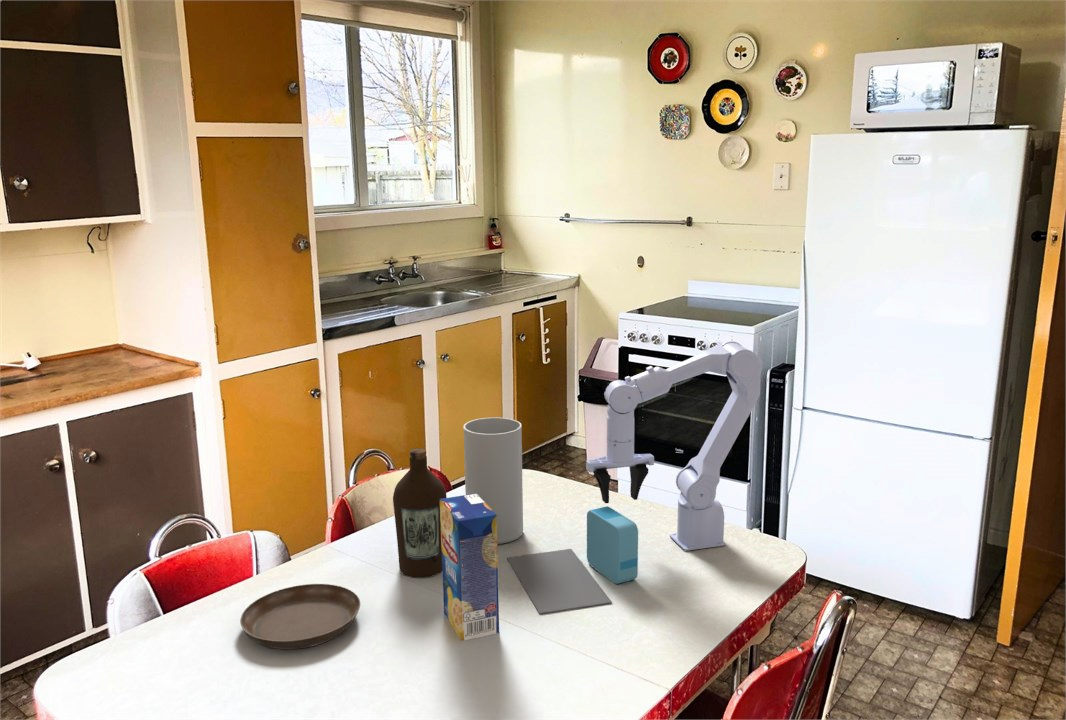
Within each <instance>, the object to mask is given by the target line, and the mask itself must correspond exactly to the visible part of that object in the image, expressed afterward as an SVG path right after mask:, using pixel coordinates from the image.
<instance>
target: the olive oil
mask: <svg viewBox="0 0 1066 720" xmlns="http://www.w3.org/2000/svg"><path fill="white" fill-rule="evenodd" d="M409 455H410V456H409V470H408V471H407V472H406V473H405V474H404V475H403V477H402V478H400V480H399V481H398V482H397V484H396V485H395V487H394V491H393V494H392V495H393V496H392V504H393V512H394V521H395V522H394V523H395V531H396V532H395V534H396V543H397V544H396V545H397V553H398V566H399V571H400V573H401V574H402V575H404V576H406V577H409V578H415V579H425V578H430V577H431V578H432V577H434V576H437V575H439V574H440V573H442V548H441V522H440V499H443V498H448V497H447V492H446V488H445V485H444V483H443V482H442V480H441V479H440V478H439V477H437V475H435V473H433V472H432V471H431V470H430V469H429V468H428V459H427V450H426V449H424V448H413V449H411V450H409Z"/></svg>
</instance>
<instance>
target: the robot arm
mask: <svg viewBox="0 0 1066 720" xmlns="http://www.w3.org/2000/svg"><path fill="white" fill-rule="evenodd" d="M762 371H763V366H762V364H761V362H760V359H759V358H758V355H757V354H756V353H755V352H754V351H752V350H749V349H748V348H746V347H744V346H743V345H742V344H740V343H739V342H738V341H726V342H723V343H722V344H717V345H714V346H712V347H711V348H708V349H707V350H705V351H702V352H701V353H699V354H696V355H693V356H692V357H689V358H687V359H685V360H683V361H681V362H679V363H677V364H674V365H673V366H670V367H668V368H666V369H665V368H663V367H660V366H655V367H653V366H652V365H649V366H647V367H645V371H644V372H643V371H642V372H640V373H638V374H635V375H633V376H629V375H628V376H625V377H624V380H622V379H617V380H613V381H611V382H610V383H609V385H607V386H606V388H605V391H604V393H603V395H604V399H605V401H606V403H608V404H607V410H606V413H607V416H606V455H605V456H601V457H597V458H594V459H589V460H585V470H586V471H587V472H588V473H593V474H594V475H593V476H594V477H595V480H596V481H597V484H598V487H599V490H600V494H601V499H602V501H603V502H604V504H609V503H610V502H609V501H610V482H611V478H612V476H611V475H610V474H609V471H608V470H611V469H612V470H613V469H620V468H627V467H629V475H630V488H629V489H630V491H629V492H630V498H632V500H634V501H636V500H638V499H639V493H640V490H641V488H642V486H643V485H642V484H643V483H644V481H645V479H646V477H647V476H648V475H649V467H648V466H654V465H655V456H654V455H653V454H651V453H635V409H636V408H637V406H638V405H639V404H641V403H644V402H647V401H650V400H652V399H654V398H655V399H656V398H657V397H659V396H662V395H665V394H667V393H668V392H670V389H671V388H672V386H673V385H674V384H676V383H679V382H682V381H686V380H688V379H691V378H694V377H696V376H700V375H702V374H705V373H706V374H707V373H709V372H710V373H713V374H719V375H722V376H726V377H727V379H728V382H729V385H730V388H731V390H732V391H731V394H730V395H729V397H728V399H727V400H726V403H725V404H724V406H723V408H722V410H721V412H720V414H719V415H718V417H717V419H716V421H715V423H714V425H713V426H712V429H710V431H709V434H708V435H707V436H706V439H705V440H704V443H703V445H702V446H701V448H700V450H699V452H698V454H697V455H696V456H694V457H692V458H691V459H690V460H689V461H688V463H687V464H686V466H685V467H683V468H681V470H679V472H678V473H677V474H676V477H675V485H676V487H677V489H678V490H679V492H680V494H679V496H678V499H677V520H676V521H677V527H676V530H677V531H676V533H670V534H669V537H670V538H671V539H672V540H673V541H674V542H675V543H676V544H677V545H678V546H679V547H680V548H681V549H683V551H694V550H701V549H708V548H717V547H722V546H725V545H726V543H725V541H724V538H725V537H724V534H725V512H724V508H723V505H722V504H721V502H720V501H719V500H717V499H716V495H717V487H718V485H719V483H720V480H721V479H720V478H721V476H720V475H721V474H720V473H721V467H722V465H723V463H724V462H725V460H726V458H727V456H728V455H729V452H730V450H731V449H732V447H733V445H734V444H735V442H736V440H737V438H738V436H739V434H740V432H741V431H742V429H743V427H744V425H745V423H746V422H747V420H748V418H749V417H750V415H751V413H752V411H753V408H754V407H755V405H756V403H757V402H758V399H760V396H761V373H762ZM647 465H648V466H647Z"/></svg>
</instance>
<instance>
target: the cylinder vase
mask: <svg viewBox="0 0 1066 720" xmlns="http://www.w3.org/2000/svg"><path fill="white" fill-rule="evenodd" d="M522 427H523V426H522V423H521V422H520V421H518V420H516V419H512V418H507V417H483V418H477V419H472V420H469V421H467V422H465V424H463V452H464V453H463V455H464V457H463V458H464V484H465V486H464V487H465V488H464V489H465V490H464V491H465V495H469V494H475V493H476V494H477V495H478V496H479V497H480V498H481V499H482V500H483V501H484V502H485V503H486V504H487V505H488V506H489V507H490V508H491V509H492V510H493V511H494V513H495V514H496V515H497V545H501V544H502V545H503V544H506V543H511V542H513V541H516V540H517V539H519V538H520V537H522V534H523V532H524V507H523V506H524V503H523V498H524V497H523V495H524V494H523V491H524V490H523V447H522V446H523V440H522V439H523V437H522V436H523V435H522V431H523V428H522Z"/></svg>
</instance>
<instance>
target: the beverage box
mask: <svg viewBox="0 0 1066 720" xmlns="http://www.w3.org/2000/svg"><path fill="white" fill-rule="evenodd" d="M440 522H441V548H442V572H441V573H442V596H443V598H442V599H443V600H442V601H443V613H444V615H445V616H446V618H447V619H448V621H449V623H450V625H451V626H452V628H453V629H454V632H456V634H457V636H458V637H459V639H460V641H461V642H464V641H469V640H473V639H477V638H482V637H486V636H490V635H491V636H492V635H496V634H499V633H500V611H499V608H500V601H499V569H498V568H499V566H498V565H499V564H498V562H499V557H498V544H497V515H496V514H495V513H494V511H493V510H492V509H491V508H490V507H489V506H488V505H487V504H486V503H485V502H484V501H483V500H482V499H481V498H480V497H479V496H478V495H477V494H476V493H475V494H469V495H466V494H463V495H457V496H450V497H447V498H443V499H440Z"/></svg>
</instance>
